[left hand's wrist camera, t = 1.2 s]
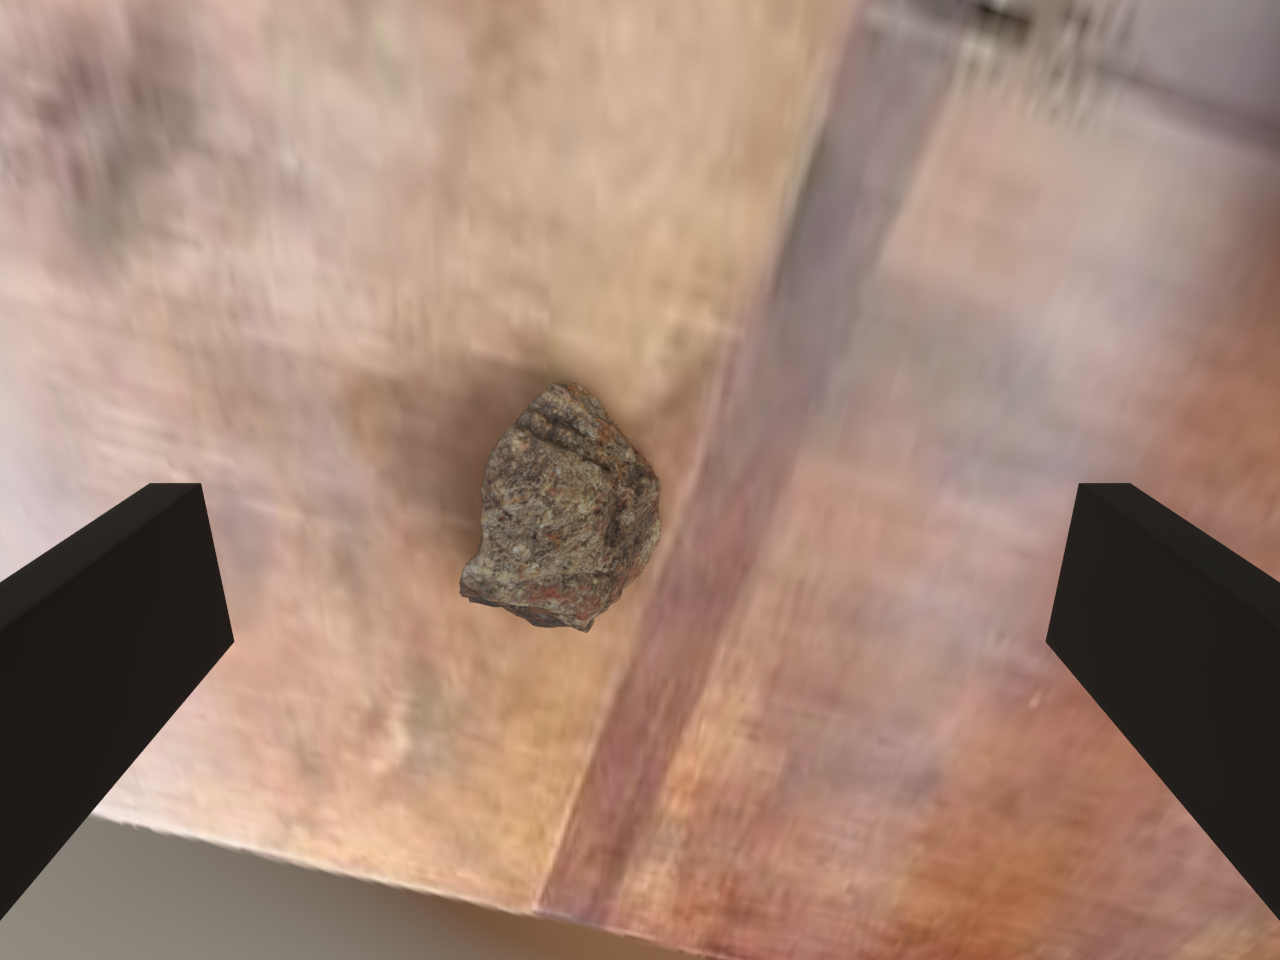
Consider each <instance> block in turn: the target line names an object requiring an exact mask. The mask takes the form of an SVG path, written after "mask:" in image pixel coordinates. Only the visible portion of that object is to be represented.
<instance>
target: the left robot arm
mask: <svg viewBox="0 0 1280 960" xmlns="http://www.w3.org/2000/svg"><path fill="white" fill-rule="evenodd" d="M233 643H234V638H233V633H232V628H231V623H230V619H229V614H228V609H227V604H226V600H225V595H224V590H223V585H222V581H221V576H220V571H219V566H218V562H217V557H216V552H215V547H214V543H213V538H212V533H211V528H210V524H209V519H208V514H207V509H206V504H205V500H204V495H203V490H202V485H201V483H149V484H148V485H146V486H145V487H143V488H142V489H140V490H139V491H137V492H136V493H134V494H133V495H131V496H130V497H128V498H127V499H125V500H124V501H122V502H121V503H119V504H118V505H116V506H115V507H113V508H112V509H110V510H109V511H107V512H106V513H104V514H103V515H101V516H100V517H98V518H97V519H95V520H94V521H92V522H91V523H89V524H88V525H86V526H85V527H83V528H82V529H80V530H79V531H77V532H76V533H74V534H73V535H71V536H70V537H68V538H67V539H65V540H63V541H62V542H60V543H59V544H57V545H56V546H54V547H53V548H51V549H50V550H48V551H47V552H45V553H44V554H42V555H41V556H39V557H38V558H36V559H35V560H33V561H32V562H30V563H29V564H27V565H26V566H24V567H23V568H21V569H20V570H18V571H17V572H15V573H14V574H12V575H11V576H9V577H8V578H6V579H5V580H3V581H2V582H0V920H1V919H2V918H3V917H4V916H5V914H6V913H7V912H8V911H9V910H10V908H11V907H12V906H13V905H14V904H15V902H16V901H17V900H18V899H19V898H20V896H21V895H22V894H23V893H24V892H25V890H26V889H27V888H28V887H29V886H30V885H31V883H32V882H33V881H34V880H35V879H36V877H37V876H38V875H39V874H40V873H41V871H42V870H43V869H44V868H45V867H46V865H47V864H48V863H49V862H50V861H51V859H52V858H53V857H54V856H55V855H56V854H57V852H58V851H59V850H60V849H61V848H62V846H63V845H64V844H65V843H66V842H67V840H68V839H69V838H70V837H71V836H72V835H73V833H74V832H75V831H76V830H77V829H78V827H79V826H80V825H81V824H82V823H83V821H84V820H85V819H86V818H87V817H88V815H89V814H90V813H91V812H92V811H93V810H94V808H95V807H96V806H97V805H98V804H99V802H100V801H101V800H102V799H103V798H104V796H105V795H106V794H107V793H108V792H109V790H110V789H111V788H112V787H113V786H114V784H115V783H116V782H117V781H118V780H119V779H120V777H121V776H122V775H123V774H124V773H125V771H126V770H127V769H128V768H129V767H130V765H131V764H132V763H133V762H134V761H135V759H136V758H137V757H138V756H139V755H140V754H141V752H142V751H143V750H144V749H145V748H146V746H147V745H148V744H149V743H150V742H151V740H152V739H153V738H154V737H155V736H156V734H157V733H158V732H159V731H160V730H161V728H162V727H163V726H164V725H165V724H166V723H167V721H168V720H169V719H170V718H171V717H172V715H173V714H174V713H175V712H176V711H177V709H178V708H179V707H180V706H181V705H182V703H183V702H184V701H185V700H186V699H187V697H188V696H189V695H190V694H191V693H192V692H193V690H194V689H195V688H196V687H197V686H198V684H199V683H200V682H201V681H202V680H203V678H204V677H205V676H206V675H207V674H208V672H209V671H210V670H211V669H212V668H213V667H214V665H215V664H216V663H217V662H218V661H219V659H220V658H221V657H222V656H223V655H224V653H225V652H226V651H227V650H228V649H229V647H230V646H231V645H232V644H233ZM1046 643H1047V644H1048V645H1049V646H1050V647H1051V649H1052V650H1053V651H1054V652H1055V653H1056V655H1057V656H1058V657H1059V658H1060V659H1061V661H1062V662H1063V663H1064V664H1065V665H1066V667H1067V668H1068V669H1069V670H1070V671H1071V672H1072V674H1073V675H1074V676H1075V677H1076V678H1077V680H1078V681H1079V682H1080V683H1081V684H1082V686H1083V687H1084V688H1085V689H1086V690H1087V692H1088V693H1089V694H1090V695H1091V696H1092V697H1093V699H1094V700H1095V701H1096V702H1097V703H1098V705H1099V706H1100V707H1101V708H1102V709H1103V711H1104V712H1105V713H1106V714H1107V715H1108V717H1109V718H1110V719H1111V720H1112V721H1113V723H1114V724H1115V725H1116V726H1117V727H1118V728H1119V730H1120V731H1121V732H1122V733H1123V734H1124V736H1125V737H1126V738H1127V739H1128V740H1129V742H1130V743H1131V744H1132V745H1133V746H1134V748H1135V749H1136V750H1137V751H1138V752H1139V754H1140V755H1141V756H1142V757H1143V758H1144V759H1145V761H1146V762H1147V763H1148V764H1149V765H1150V767H1151V768H1152V769H1153V770H1154V771H1155V773H1156V774H1157V775H1158V776H1159V777H1160V779H1161V780H1162V781H1163V782H1164V783H1165V784H1166V786H1167V787H1168V788H1169V789H1170V790H1171V792H1172V793H1173V794H1174V795H1175V796H1176V798H1177V799H1178V800H1179V801H1180V802H1181V804H1182V805H1183V806H1184V807H1185V808H1186V810H1187V811H1188V812H1189V813H1190V814H1191V815H1192V817H1193V818H1194V819H1195V820H1196V821H1197V823H1198V824H1199V825H1200V826H1201V827H1202V829H1203V830H1204V831H1205V832H1206V833H1207V835H1208V836H1209V837H1210V838H1211V839H1212V840H1213V842H1214V843H1215V844H1216V845H1217V846H1218V848H1219V849H1220V850H1221V851H1222V852H1223V854H1224V855H1225V856H1226V857H1227V858H1228V860H1229V861H1230V862H1231V863H1232V864H1233V866H1234V867H1235V868H1236V869H1237V870H1238V871H1239V873H1240V874H1241V875H1242V876H1243V877H1244V879H1245V880H1246V881H1247V882H1248V883H1249V885H1250V886H1251V887H1252V888H1253V889H1254V891H1255V892H1256V893H1257V894H1258V895H1259V897H1260V898H1261V899H1262V900H1263V901H1264V902H1265V904H1266V905H1267V906H1268V907H1269V908H1270V910H1271V911H1272V912H1273V913H1274V914H1275V916H1276V917H1277V918H1278V919H1279V920H1280V582H1278V581H1277V580H1275V579H1274V578H1272V577H1271V576H1269V575H1268V574H1266V573H1265V572H1263V571H1262V570H1260V569H1259V568H1257V567H1256V566H1254V565H1253V564H1251V563H1250V562H1248V561H1247V560H1245V559H1244V558H1242V557H1241V556H1239V555H1238V554H1236V553H1235V552H1233V551H1232V550H1230V549H1229V548H1227V547H1226V546H1224V545H1223V544H1221V543H1220V542H1218V541H1217V540H1215V539H1213V538H1212V537H1210V536H1209V535H1207V534H1206V533H1204V532H1203V531H1201V530H1200V529H1198V528H1197V527H1195V526H1194V525H1192V524H1191V523H1189V522H1188V521H1186V520H1185V519H1183V518H1182V517H1180V516H1179V515H1177V514H1176V513H1174V512H1173V511H1171V510H1170V509H1168V508H1167V507H1165V506H1164V505H1162V504H1161V503H1159V502H1158V501H1156V500H1155V499H1153V498H1152V497H1150V496H1149V495H1147V494H1146V493H1144V492H1143V491H1141V490H1140V489H1138V488H1137V487H1135V486H1134V485H1132V484H1131V483H1079V485H1078V490H1077V495H1076V500H1075V504H1074V509H1073V514H1072V519H1071V524H1070V528H1069V533H1068V538H1067V543H1066V547H1065V552H1064V557H1063V562H1062V566H1061V571H1060V576H1059V581H1058V585H1057V590H1056V595H1055V600H1054V604H1053V609H1052V614H1051V619H1050V623H1049V628H1048V633H1047V638H1046Z"/></svg>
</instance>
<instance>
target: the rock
mask: <svg viewBox="0 0 1280 960" xmlns="http://www.w3.org/2000/svg"><path fill="white" fill-rule="evenodd" d="M659 493H660V482H659V478H658V477H657V476H656V475H655V474H654V473H653V470H652V467H651V466H649V465H648V463H647V462H646V460H645V459H644V458H643V457H642V456H641V455H640V454H639V453H637V452H635V451H633V449H632V448H631V446H630V445H629V443H628V441H627V439H626V438H625V436H624V435H623V434H622V433H621V431H620V429H619V428H618V427H617V426H615V424H614V423H613V422H612V421H611V420H610V419H609V417H608V415H607V413H606V412H605V410H604V408H603V407H602V406H601V404H600V402H599V401H598V399H597V398H596V397H594V396H592V395H590V394H588V393H587V392H586V391H585V390H584V389H583V388H582V387H581V386H580V385H578V384H576V383H574V384H570V383H565V382H563V383H562V384H561V385H560V384H557V383H553V384H552V385H550V386H549V387H548V388H546V389H545V390H544V391H543V392H542V393H541V394H540V396H539V397H538V398H536V399H534V400H532V402H531V404H530V405H529V407H528V408H527V409H526V410H525V411H524V412H523V413H522V414H521V415H520V416H519V418H518V420H517V421H516V422H515V424H514V425H513V426H510V427H509V428H508V429H507V431H506V432H505V433H504V434H503V436H502V437H501V438H500V440H499V441H498V443H497V445H496V446H495V447H494V448H493V450H492V451H491V454H490V456H489V459H488V462H487V465H486V468H485V473H484V482H483V485H482V487H481V495H482V501H483V507H482V513H481V530H482V534H483V535H482V539H481V542H480V545H479V549H478V552H477V553H476V554H475V555H474V557H473V558H472V559H471V560H470V561H469V562H468V563H467V564H466V565H465V567H464V570H463V572H462V575H461V579H460V582H459V584H460V588H461V589H460V591H459V593H460V594H461V595H462V597H468V598H469V601H470V602H474V603H480V604H484V605H487V606H491V607H503V608H505V609H506V610H507V611H509V612H511V613H513V614H514V615H516V616H519V617H522V618H524V619H526V620H527V621H528V622H530V623H531V624H532V625H534V626H538V627H546V628H554V627H573V628H575V629H577V630H579V631H583V632H585V633H587V632H588V631H589V630H590V628H591V627H592V625H593V623H594V618H595V617H596V616H598V615H600V614H602V613H603V612H605V611H607V610H608V608H609V606H610V605H611V604H612V603H614V602H616V601H617V600H618V599H620V596H621V594H622V589H623V588H625V587H627V586H628V585H630V584H631V583H632V582H633V581H634V579H635V578H636V577H637V576H639V575H640V574H641V573H642V572H643V570H644V568H645V566H646V565H647V563H648V561H649V559H650V556H651V553H652V551H653V550H654V549H655V547H656V546H657V544H658V542H659V540H660V535H661V532H660V518H659V508H658V504H659Z"/></svg>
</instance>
